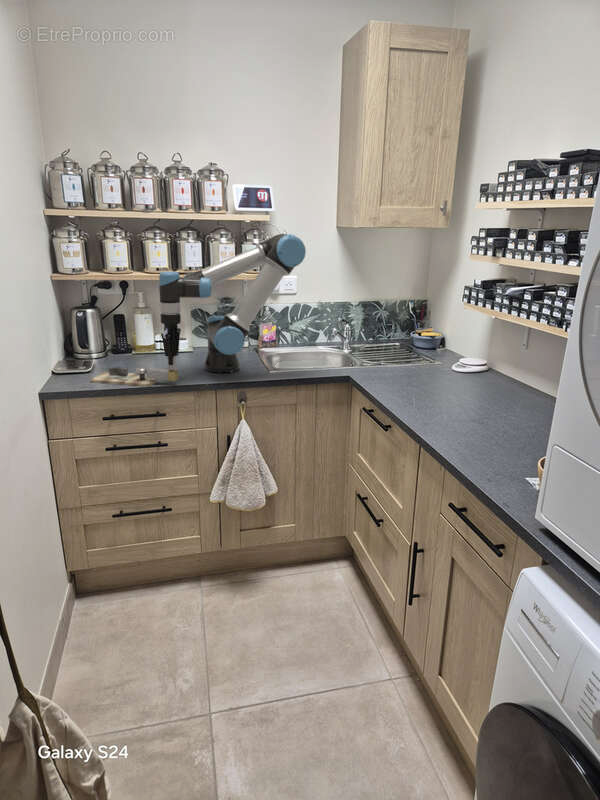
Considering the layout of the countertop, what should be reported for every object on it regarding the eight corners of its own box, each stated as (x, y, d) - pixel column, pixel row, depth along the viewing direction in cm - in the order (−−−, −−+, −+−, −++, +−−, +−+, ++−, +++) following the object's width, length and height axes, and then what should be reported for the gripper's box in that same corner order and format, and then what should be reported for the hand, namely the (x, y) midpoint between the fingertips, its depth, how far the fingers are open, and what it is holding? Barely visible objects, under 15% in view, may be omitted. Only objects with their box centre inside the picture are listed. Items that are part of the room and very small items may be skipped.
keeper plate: (138, 376, 220) (137, 366, 218) (124, 384, 208) (124, 374, 207) (105, 373, 221) (104, 364, 220) (90, 382, 210) (89, 372, 209)
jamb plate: (159, 379, 217) (159, 370, 215) (149, 386, 207) (149, 377, 206) (135, 377, 218) (135, 369, 217) (124, 384, 208) (124, 375, 207)
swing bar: (134, 378, 210) (133, 369, 209) (139, 375, 214) (138, 366, 213) (174, 381, 208) (174, 372, 207) (178, 378, 212) (178, 369, 211)
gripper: (168, 309, 216) (170, 367, 223) (153, 315, 203) (156, 375, 211) (186, 311, 214) (187, 368, 222) (172, 316, 202) (174, 377, 210)
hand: (172, 372), depth 216 cm, fingers closed
